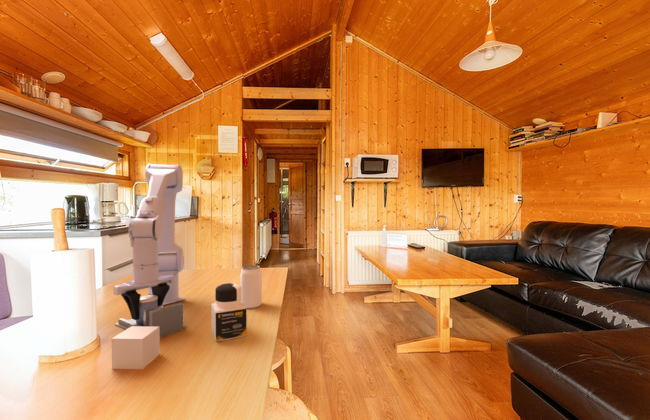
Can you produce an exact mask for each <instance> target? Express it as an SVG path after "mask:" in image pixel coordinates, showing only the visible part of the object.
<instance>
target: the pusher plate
mask: <svg viewBox="0 0 650 420" xmlns="http://www.w3.org/2000/svg"><path fill="white" fill-rule="evenodd" d="M161 308H164V305H158V306H154V307H151V308H147V309H143V326H148V327H150V317H149V312H150V311H154V310H157V309H161Z"/></svg>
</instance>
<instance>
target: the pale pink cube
mask: <svg viewBox="0 0 650 420" xmlns="http://www.w3.org/2000/svg"><path fill="white" fill-rule="evenodd" d="M160 338H161V337H160V331H159V327H148V326H131V327H130V328H128V329H126V330H125V329H124V330H123V331H122V332H120V333H118V334H117V335H115V336H113V337H112V338H111V370H112V369H113V370H144V369H145V368H146V367H147V366H148V365H150V364H151V362H153V361H154V360H155V359H156V358H157V357H158V356H160V354H161V353H160V352H161V350H160V349H161V348H160V347H161V345H160V344H161V343H160V342H161V340H160Z"/></svg>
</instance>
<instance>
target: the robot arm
mask: <svg viewBox="0 0 650 420" xmlns="http://www.w3.org/2000/svg"><path fill="white" fill-rule="evenodd" d="M144 173H145V174H144V175H145V180H146V181H147V184H148V192H147V196H146V197H143V198H142V199H141V202H140V204H139V208H138V210H137V212H136V216H135V217H134V218H133V219H132V220H130V222H129V224H128V230H127V231H128V237H129V239H130V240H129V241H130V247H131V248H132V276H133V277H132V280H131V281H128V282H125V283H122V284H118V285H114V286H113V287H112V288H113V295H115V296H121V297H122V299H123V300H124V302H125V303H126V305H127V307H128V310H129V313H130V316H131V319H134V320H138V319H139V301H140V297H141V295H142V294H141V293H138V291H140V290H144V289H148V291H147V293H148V295H156V296H158V305H163V306H167V305H170V304H173V303H177V302H182V301H184V300H185V297H182V296H180V292H179V291H180V290H179V285H180V284H179V282H180V281H179V280H180V279H179V273H181V272H182V271H183V270H184V267H185V266H184V265H185V257H184V250H183V248H182V247H181V246H179V244H177V243H175V229H176V228H175V224H176V223H175V222H176V199H177V194H179V193H180V192H182V191H183V187H184V186H183V183H184V181H183V179H184V178H183V177H184V175H183V173H184V172H183V167H182V166H181V164H179V163H178V164H159V163H158V164H155V163H154V164H153V163H148V164H147V165H146V166H145V171H144Z"/></svg>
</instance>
